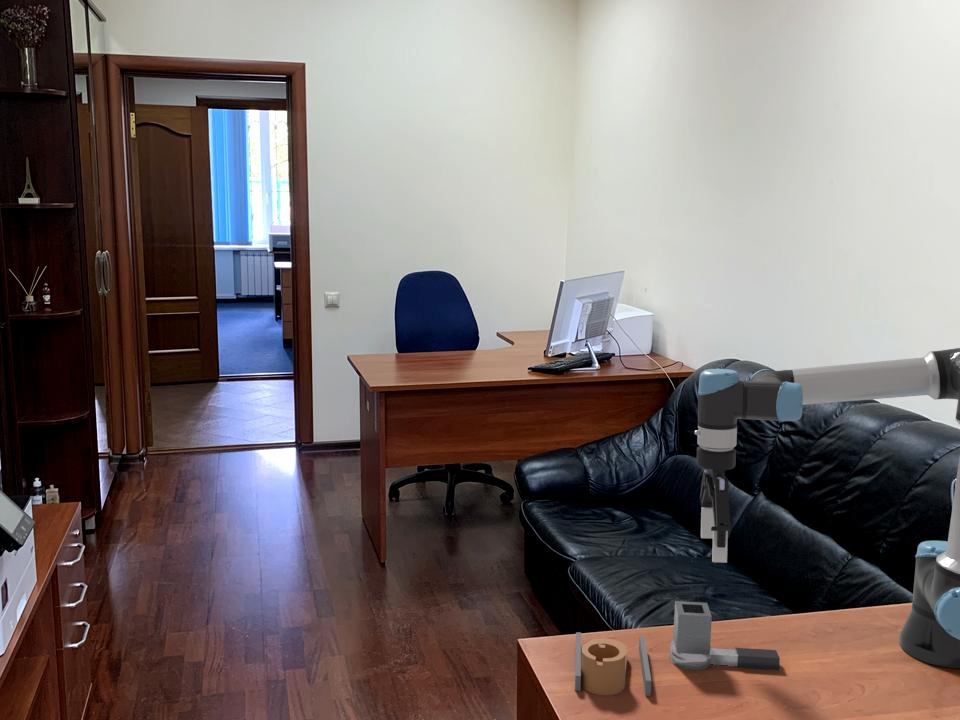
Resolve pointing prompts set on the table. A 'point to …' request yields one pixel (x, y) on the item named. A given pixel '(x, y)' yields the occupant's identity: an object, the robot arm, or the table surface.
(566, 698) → the table surface
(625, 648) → the tan slotted hollow cylinder
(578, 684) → the bar
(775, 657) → the ratchet
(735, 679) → the table surface
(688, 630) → the socket
